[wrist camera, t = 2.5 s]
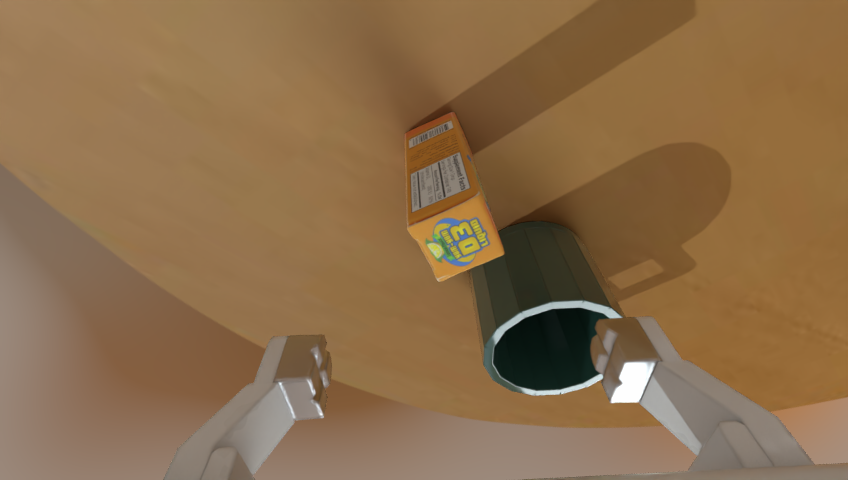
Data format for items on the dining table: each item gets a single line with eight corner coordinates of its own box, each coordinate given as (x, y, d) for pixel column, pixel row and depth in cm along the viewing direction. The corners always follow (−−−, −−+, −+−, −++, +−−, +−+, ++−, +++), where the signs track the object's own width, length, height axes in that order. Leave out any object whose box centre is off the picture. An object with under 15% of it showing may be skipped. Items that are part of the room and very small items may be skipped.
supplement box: (478, 155, 24) (509, 261, 16) (426, 177, 25) (431, 289, 17) (457, 105, 23) (481, 195, 14) (401, 130, 23) (394, 230, 15)
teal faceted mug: (445, 273, 30) (453, 358, 24) (536, 198, 26) (573, 275, 20) (545, 342, 34) (572, 427, 28) (633, 286, 31) (687, 370, 25)
